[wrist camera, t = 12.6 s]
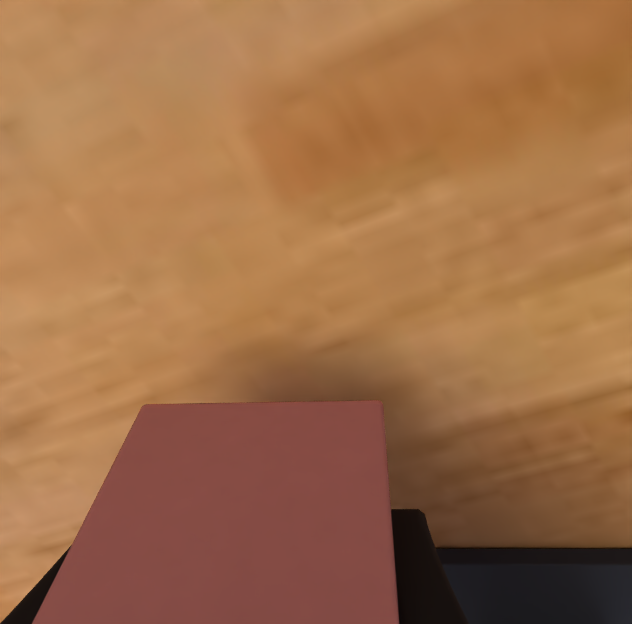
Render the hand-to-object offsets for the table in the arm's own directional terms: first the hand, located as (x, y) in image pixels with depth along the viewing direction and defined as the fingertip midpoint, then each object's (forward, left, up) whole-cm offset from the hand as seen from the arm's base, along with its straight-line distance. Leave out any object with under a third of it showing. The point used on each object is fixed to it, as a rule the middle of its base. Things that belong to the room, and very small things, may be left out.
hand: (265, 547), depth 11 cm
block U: (0, 0, -1) cm, 1 cm away
